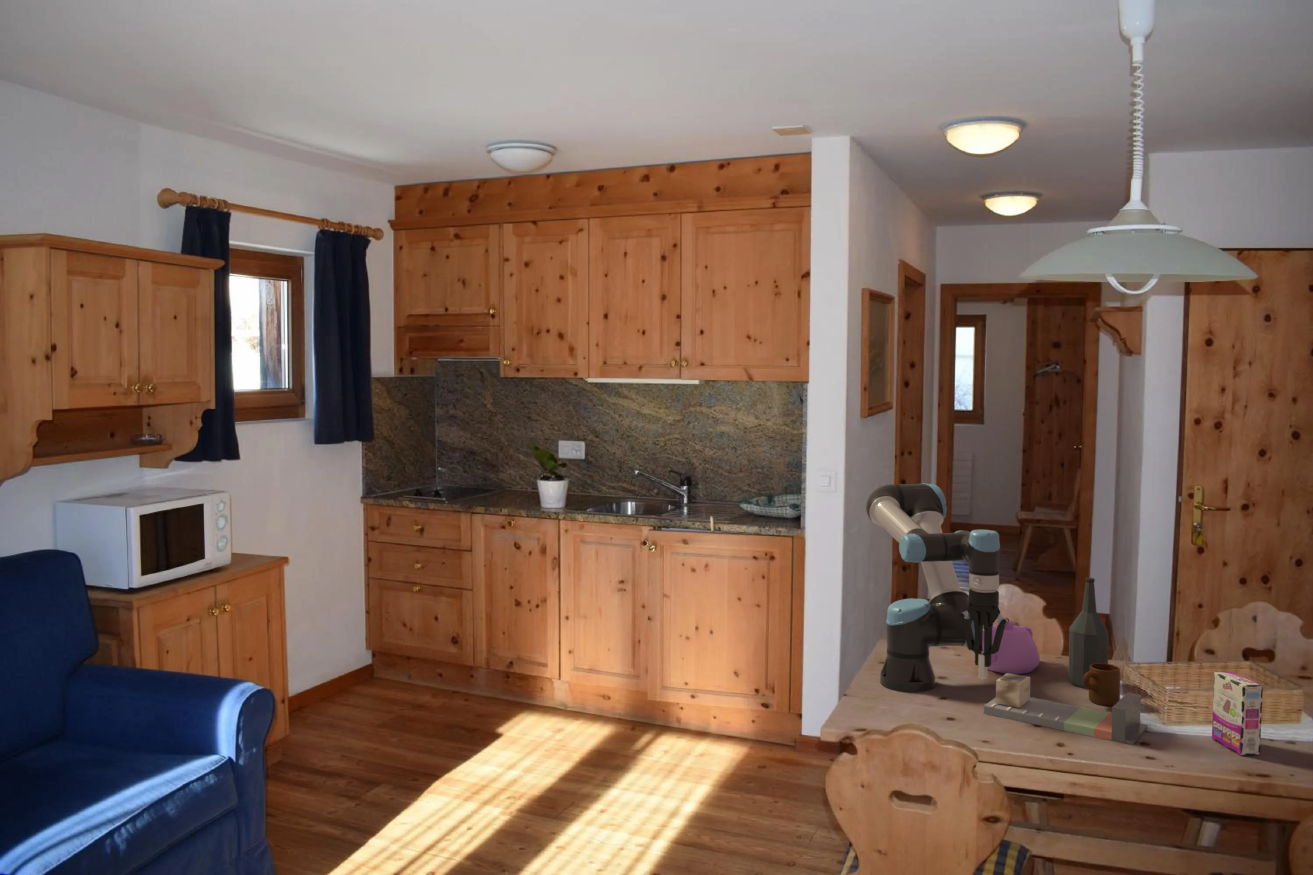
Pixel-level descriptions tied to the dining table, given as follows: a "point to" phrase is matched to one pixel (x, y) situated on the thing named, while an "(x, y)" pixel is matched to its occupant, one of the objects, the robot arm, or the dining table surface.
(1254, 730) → the candy bar box
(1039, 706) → the track
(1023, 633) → the teapot
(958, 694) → the dining table surface
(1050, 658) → the dining table surface
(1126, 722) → the grey block
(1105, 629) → the bottle
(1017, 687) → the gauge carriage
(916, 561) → the robot arm
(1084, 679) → the mug
